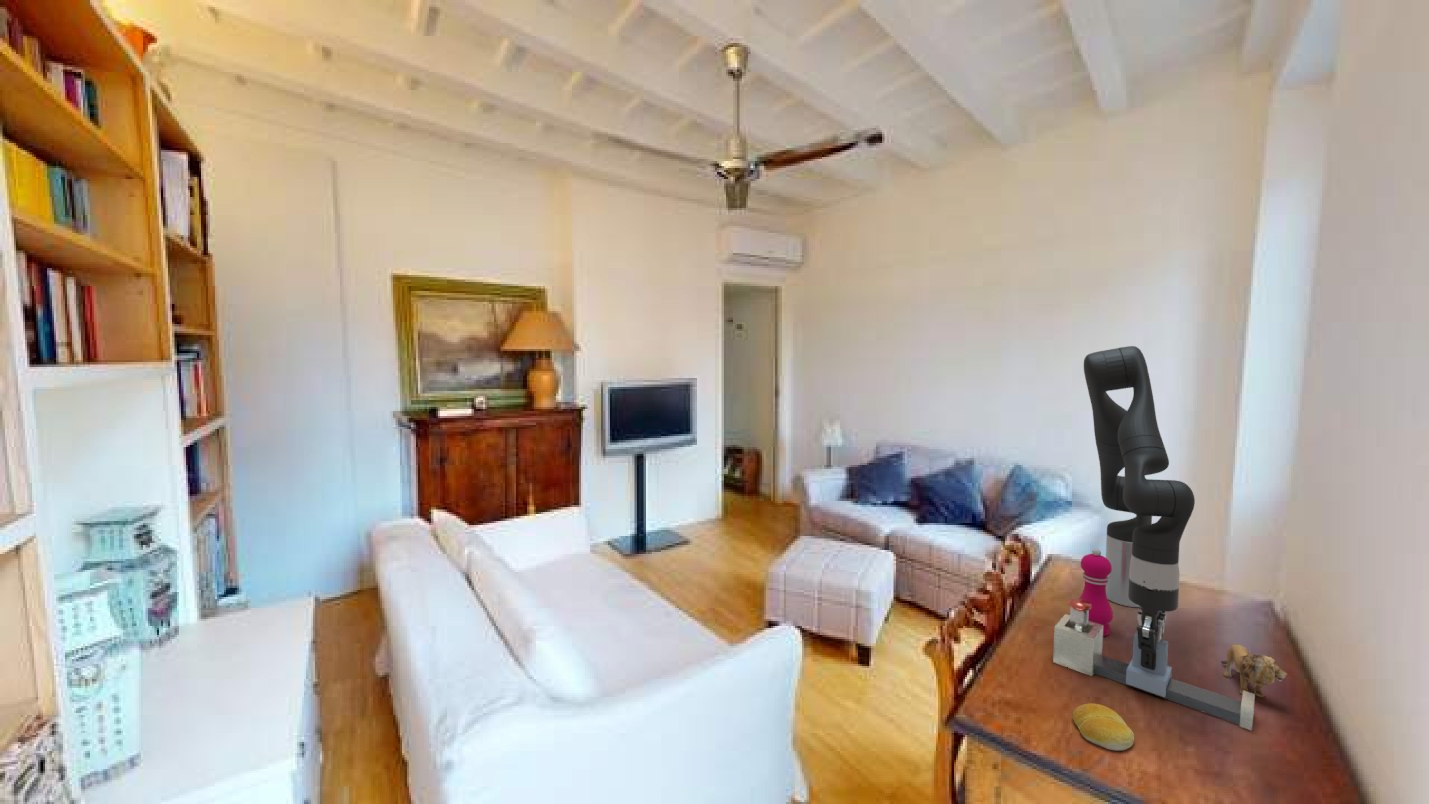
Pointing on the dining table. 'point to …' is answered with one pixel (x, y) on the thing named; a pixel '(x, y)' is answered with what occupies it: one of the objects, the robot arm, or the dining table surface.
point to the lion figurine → (1252, 668)
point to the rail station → (1087, 658)
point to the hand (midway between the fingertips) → (1149, 664)
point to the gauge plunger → (1079, 614)
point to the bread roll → (1103, 727)
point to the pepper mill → (1097, 588)
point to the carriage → (1149, 678)
